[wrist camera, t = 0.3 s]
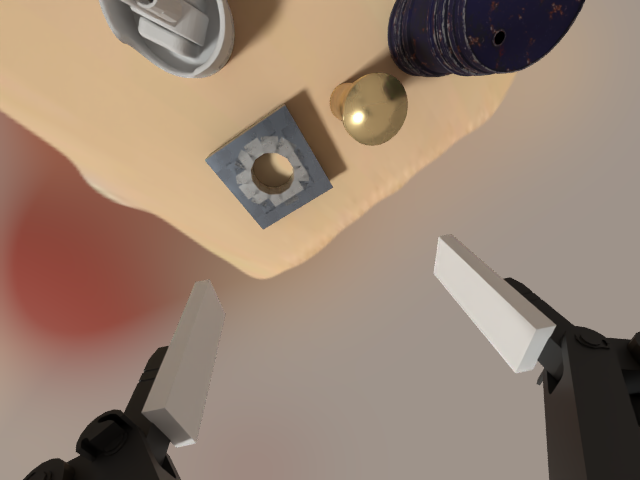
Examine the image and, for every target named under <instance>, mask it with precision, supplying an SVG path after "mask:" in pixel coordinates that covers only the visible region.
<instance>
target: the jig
mask: <svg viewBox="0 0 640 480" xmlns="http://www.w3.org/2000/svg"><path fill="white" fill-rule="evenodd" d="M264 153H278V154H280V155H282V156H284V157H286V158H287V159H288V160H289V162H290V163H291V165H292V166H293V174H292V175H291V177H290V179H289V181H288V182H287V183H285V184H284V185H282V186H280V187H268V186H266V185H264V184H262V183H260V182H259V180H258V179H257V178H256V176H255V175H254V172H253V163H254V161H255V159H257V158H258V157H260V156H261V155H263V154H264ZM205 161H206V162H207V163H208V165H209V166H210V167H211V168H212V169H213V171H214V172H215V173H216V174H217V175H218V177H219V178H220V179H221V180H222V181H223V182H224V184H225V185H226V186H227V187H228V188H229V190H230V191H231V192H232V193H233V194H234V195H235V197H236V198H237V199H238V200H239V201H240V203H241V204H242V205H243V206H244V207H245V209H246V210H247V211H248V212H249V213H250V214H251V216H252V217H253V218H254V219H255V220H256V222H257V223H258V224H259V225H260V226H261V228H262V229H265V228H266V227H268V226H270V225H271V224H273V223H275V222H276V221H278V220H280V219H281V218H283V217H285V216H286V215H288V214H290V213H291V212H293V211H295V210H296V209H298V208H300V207H301V206H303V205H305V204H306V203H308V202H310V201H311V200H313V199H315V198H316V197H318V196H319V195H321V194H323V193H324V192H326V191H328V190H329V189H331V188H333V186H332V185H331V183H330V181H329V179H328V177H327V176H326V174H325V172H324V170H323V169H322V167H321V165H320V164H319V162H318V160H317V158H316V157H315V155H314V153H313V152H312V150H311V148H310V146H309V145H308V143H307V141H306V139H305V138H304V136H303V134H302V133H301V131H300V129H299V127H298V126H297V124H296V122H295V121H294V119H293V117H292V115H291V114H290V112H289V110H288V109H287V107H286V105H285V103H284V104H283V105H281V106H280V107H278V108H277V109H275V110H274V111H272V112H271V113H270V114H268V115H267V116H265V117H264V118H262V119H261V120H259V121H258V122H256V123H255V124H254V125H252V126H251V127H249V128H248V129H246V130H245V131H243V132H242V133H240V134H239V135H237V136H236V137H235V138H233V139H232V140H230V141H229V142H227V143H226V144H224V145H223V146H221V147H220V148H219V149H217V150H216V151H214V152H213V153H211V154H210V155H209V156H208V157H207V158H206V159H205Z"/></svg>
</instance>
